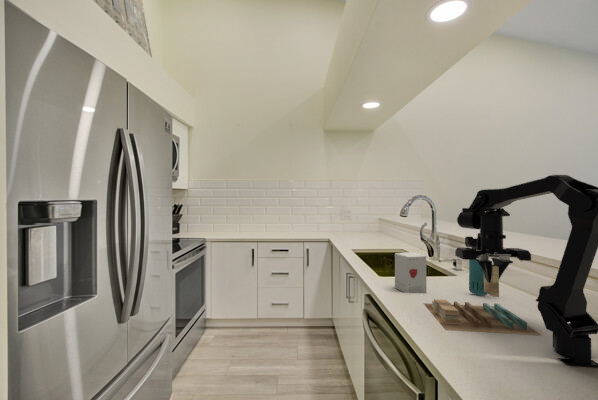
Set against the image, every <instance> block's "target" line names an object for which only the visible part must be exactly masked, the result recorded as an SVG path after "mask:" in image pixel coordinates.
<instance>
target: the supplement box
mask: <svg viewBox="0 0 598 400" xmlns="http://www.w3.org/2000/svg"><path fill="white" fill-rule="evenodd" d="M394 288H395V289H397V290H398V291H400V292H403V293H405V294H406V293H407V294H426V293H427V255H425V254H422V253H418V252H416V251H415V252H414V251H412V252H411V251H408V252H404V251H403V252H395V253H394Z"/></svg>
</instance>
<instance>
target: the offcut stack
mask: <svg viewBox="0 0 598 400" xmlns="http://www.w3.org/2000/svg"><path fill="white" fill-rule="evenodd" d="M431 304H432V309H433V310H434V311H435V312H436V313H437V314H438V316H439V317H440V318H441V319H442V320H443V321H444V322H445V324H458V325H461V320H460V319H459V318H458V315H459V311H458V310H457V309H456V308H455V307H454V306H453V305H454V304H453V305H452V303H451V302H450V301H448V300H447V299H442V298H441V299H439V298H438V299H437V298H436V299H435V298H434V299H433V300H432V303H431Z"/></svg>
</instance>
